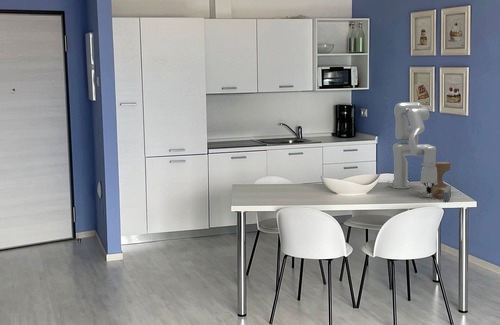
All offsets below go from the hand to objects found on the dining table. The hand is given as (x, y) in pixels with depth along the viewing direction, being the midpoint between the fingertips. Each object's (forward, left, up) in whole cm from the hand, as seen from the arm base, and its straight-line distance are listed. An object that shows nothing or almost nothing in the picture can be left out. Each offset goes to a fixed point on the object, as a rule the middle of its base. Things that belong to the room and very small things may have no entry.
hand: (428, 193), depth 449 cm
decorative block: (+6, +19, -3) cm, 20 cm away
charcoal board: (+12, 0, -3) cm, 12 cm away
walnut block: (+6, 0, -3) cm, 7 cm away
